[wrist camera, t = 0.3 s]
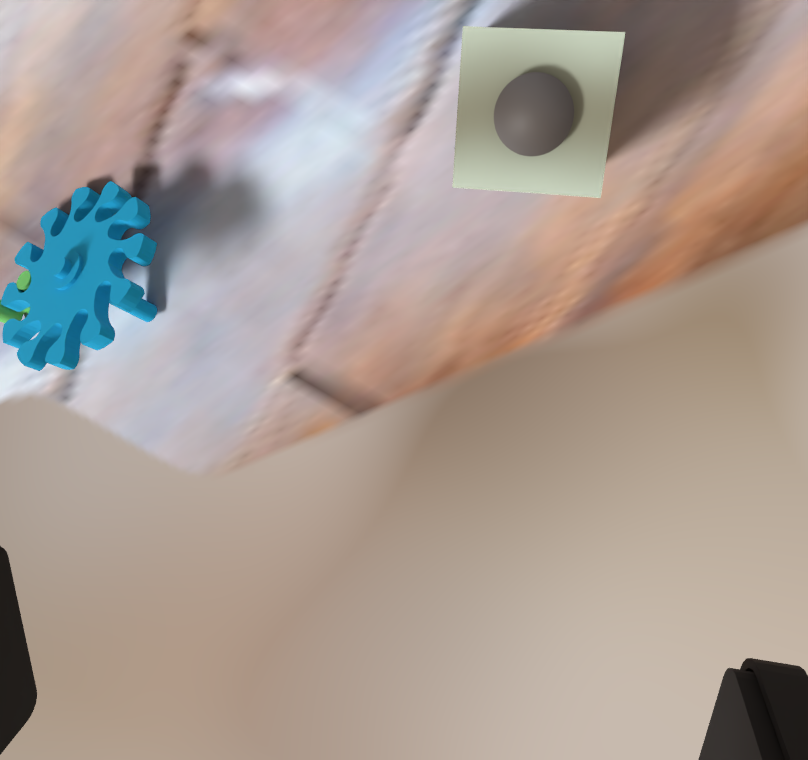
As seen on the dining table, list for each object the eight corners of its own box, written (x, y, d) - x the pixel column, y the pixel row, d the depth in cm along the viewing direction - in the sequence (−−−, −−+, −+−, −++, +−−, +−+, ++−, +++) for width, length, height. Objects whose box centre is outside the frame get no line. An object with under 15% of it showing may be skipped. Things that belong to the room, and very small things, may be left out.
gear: (144, 147, 34) (119, 336, 31) (226, 210, 39) (214, 380, 35) (-5, 215, 39) (-42, 386, 35) (85, 264, 44) (61, 418, 40)
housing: (480, 33, 31) (461, 25, 25) (609, 38, 30) (626, 31, 24) (470, 163, 33) (451, 189, 27) (590, 171, 33) (601, 199, 26)
